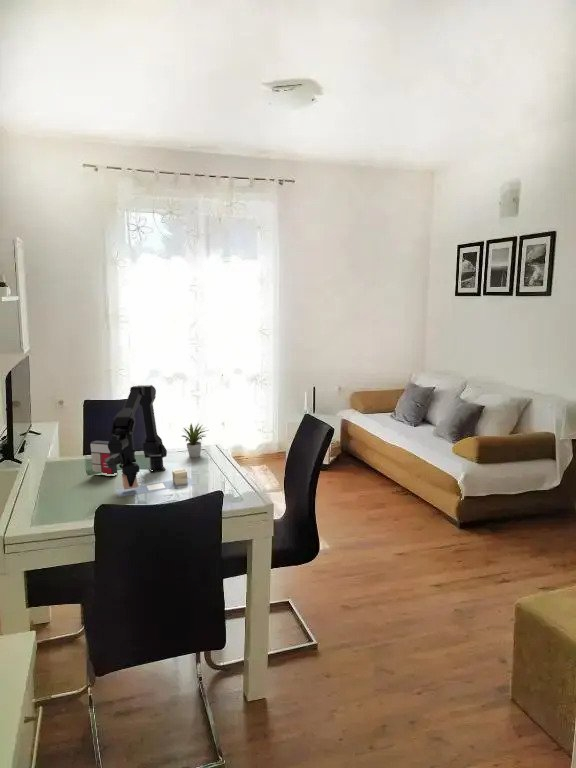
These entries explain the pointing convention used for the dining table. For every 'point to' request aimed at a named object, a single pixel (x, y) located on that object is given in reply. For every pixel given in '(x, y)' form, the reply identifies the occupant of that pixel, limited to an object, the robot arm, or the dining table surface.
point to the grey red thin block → (101, 457)
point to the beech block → (179, 476)
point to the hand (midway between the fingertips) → (130, 484)
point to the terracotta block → (126, 484)
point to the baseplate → (151, 487)
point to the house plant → (194, 441)
